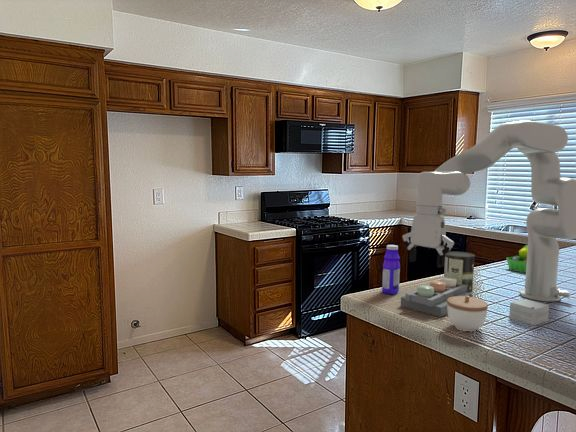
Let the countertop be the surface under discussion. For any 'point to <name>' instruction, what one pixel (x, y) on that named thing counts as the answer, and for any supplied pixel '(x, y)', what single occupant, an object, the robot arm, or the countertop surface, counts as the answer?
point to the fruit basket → (519, 260)
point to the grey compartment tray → (433, 300)
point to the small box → (529, 311)
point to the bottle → (391, 270)
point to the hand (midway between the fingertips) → (425, 264)
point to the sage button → (425, 291)
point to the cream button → (449, 281)
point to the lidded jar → (466, 312)
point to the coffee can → (460, 268)
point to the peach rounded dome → (438, 286)
